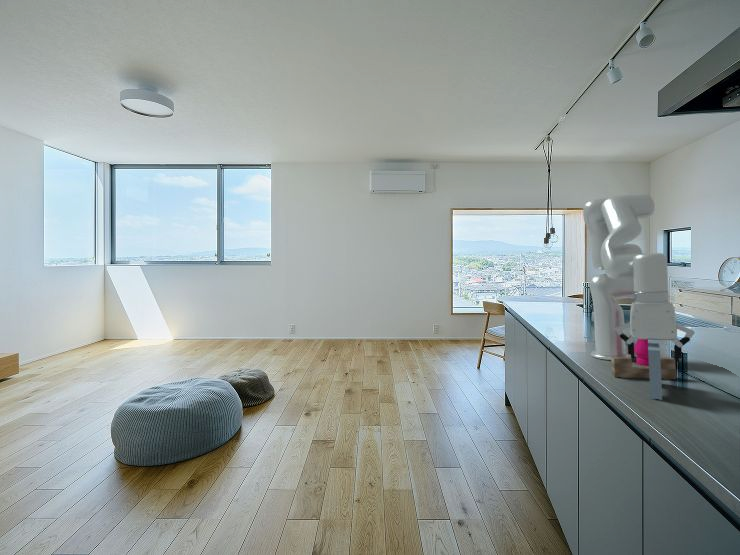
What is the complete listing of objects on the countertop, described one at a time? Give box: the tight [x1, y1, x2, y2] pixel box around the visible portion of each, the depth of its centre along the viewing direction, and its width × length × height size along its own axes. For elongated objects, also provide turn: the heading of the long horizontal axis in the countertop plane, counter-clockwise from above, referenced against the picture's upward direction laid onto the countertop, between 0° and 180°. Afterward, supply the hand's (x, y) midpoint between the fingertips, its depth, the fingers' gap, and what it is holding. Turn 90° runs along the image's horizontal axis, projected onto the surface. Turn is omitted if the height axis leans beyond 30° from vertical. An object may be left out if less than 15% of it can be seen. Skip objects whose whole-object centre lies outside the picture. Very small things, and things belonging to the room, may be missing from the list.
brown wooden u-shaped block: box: [610, 356, 677, 380], centre depth 113 cm, size 16×2×6 cm, turn 73°
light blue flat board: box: [648, 339, 663, 401], centre depth 101 cm, size 16×2×13 cm, turn 143°
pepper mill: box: [634, 339, 649, 367], centre depth 126 cm, size 7×7×20 cm
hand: (654, 359), depth 101 cm, fingers open, 9 cm apart
